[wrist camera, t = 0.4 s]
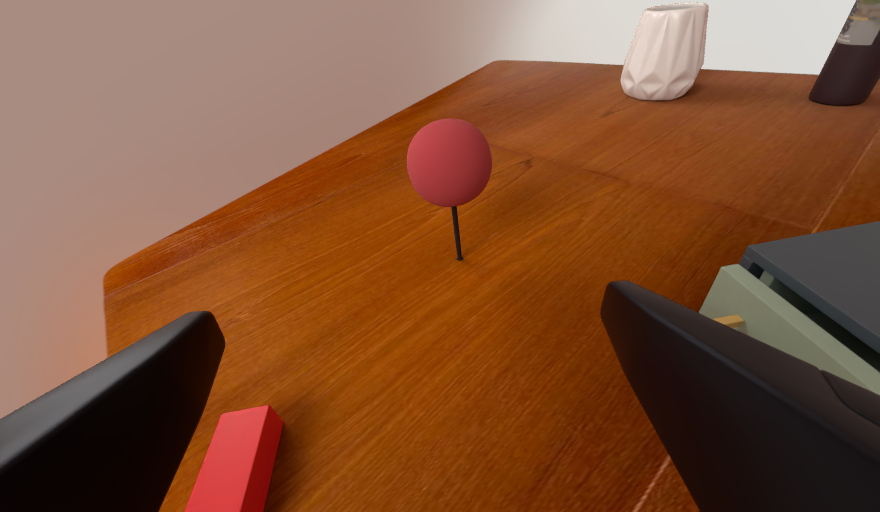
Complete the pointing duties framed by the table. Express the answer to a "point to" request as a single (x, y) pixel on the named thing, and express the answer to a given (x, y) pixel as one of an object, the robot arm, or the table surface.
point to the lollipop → (449, 165)
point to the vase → (666, 52)
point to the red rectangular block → (238, 462)
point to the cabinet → (829, 274)
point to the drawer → (790, 325)
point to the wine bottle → (852, 59)
